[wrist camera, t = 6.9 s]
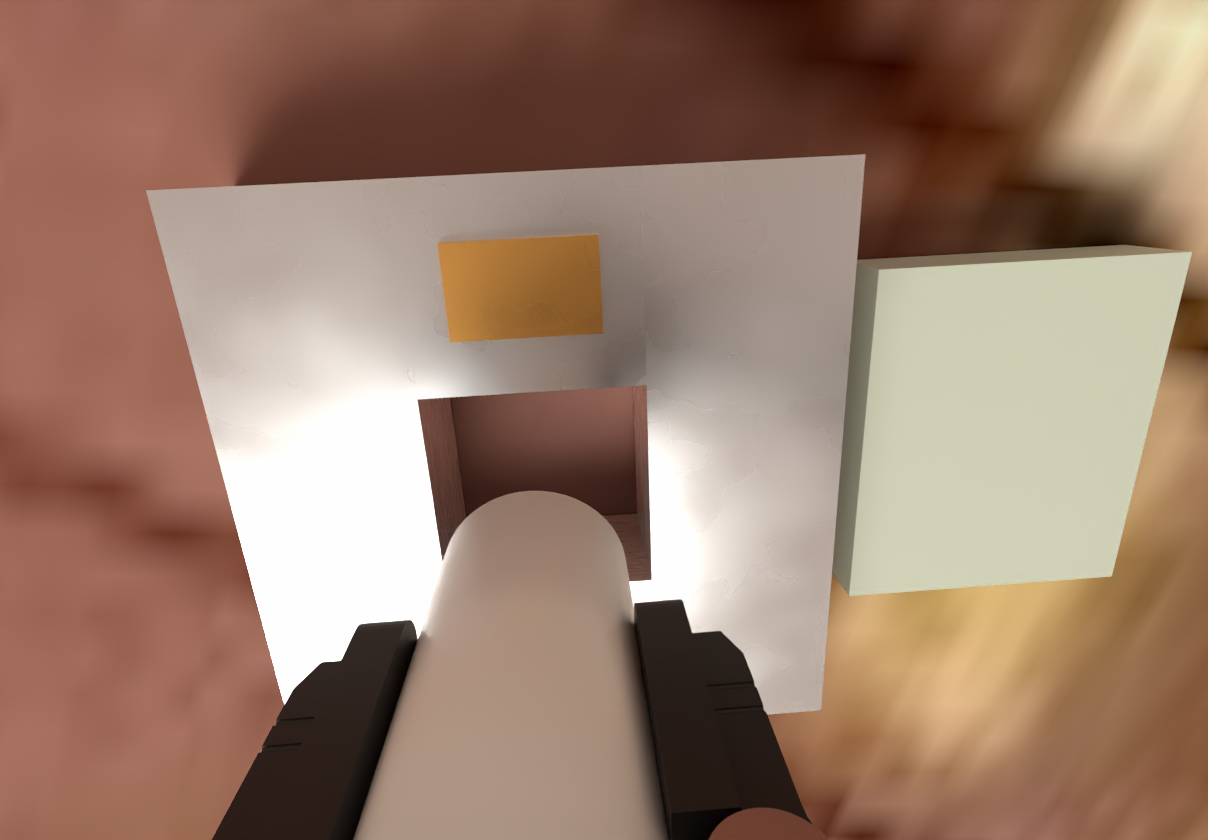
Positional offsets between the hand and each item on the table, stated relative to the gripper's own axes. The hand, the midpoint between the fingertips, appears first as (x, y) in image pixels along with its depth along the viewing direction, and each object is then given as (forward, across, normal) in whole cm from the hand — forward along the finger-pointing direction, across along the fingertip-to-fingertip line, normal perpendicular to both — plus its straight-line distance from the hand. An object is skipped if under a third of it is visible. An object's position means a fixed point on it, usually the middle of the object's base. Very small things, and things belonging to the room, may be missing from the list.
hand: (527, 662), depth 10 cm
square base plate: (+9, -12, 0) cm, 15 cm away
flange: (+9, 0, 0) cm, 9 cm away
